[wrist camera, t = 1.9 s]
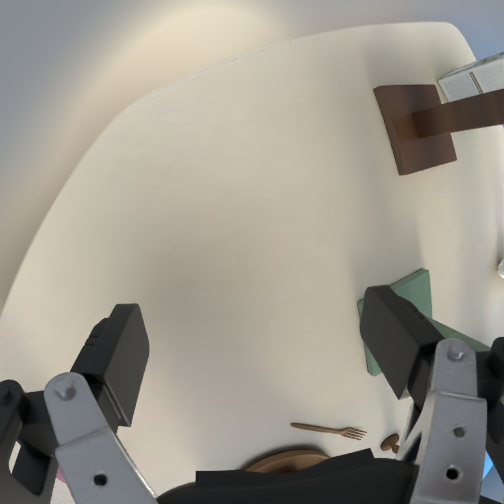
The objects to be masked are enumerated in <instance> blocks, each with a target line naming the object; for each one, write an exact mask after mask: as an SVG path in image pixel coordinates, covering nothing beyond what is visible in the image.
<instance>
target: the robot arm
mask: <svg viewBox="0 0 504 504" xmlns="http://www.w3.org/2000/svg"><path fill="white" fill-rule="evenodd" d="M360 333H361V337H362V339H363V341H364V343H365V344H366V346H367V347H368V349H369V351H370V352H371V354H372V356H373V357H374V359H375V361H376V362H377V364H378V366H379V367H380V369H381V371H382V372H383V374H384V376H385V378H386V379H387V381H388V383H389V384H390V386H391V388H392V390H393V391H394V393H395V395H396V397H397V398H398V400H403V399H406V398H409V397H412V399H413V400H414V401H413V403H412V405H411V408H410V412H409V415H408V419H407V423H406V427H405V430H404V434H403V437H402V440H401V444H400V447H399V449H398V452H397V454H396V456H395V458H394V459H389V458H374V456H373V454H372V451H371V449H370V448H368V449H364V450H361V451H357V452H353V453H349V454H345V455H340V456H336V457H331V458H329V459H326V460H324V461H322V462H320V463H317V464H315V465H312V466H310V467H308V468H305V469H303V470H300V471H297V472H295V473H292V474H287V475H282V474H271V473H261V472H253V471H245V470H227V471H196V482H191V483H187V484H184V485H181V486H178V487H175V488H173V489H171V490H169V491H167V492H165V493H163V494H161V495H160V496H159V497H158V495H157V494H156V493H155V491H154V490H153V489H152V488H151V486H150V485H149V484H148V482H147V481H146V480H145V478H144V477H143V475H142V474H141V472H140V471H139V469H138V468H137V467H136V465H135V464H134V462H133V460H132V459H131V457H130V456H129V454H128V453H127V451H126V449H125V448H124V446H123V445H122V443H121V441H120V440H119V438H118V436H117V435H116V433H117V429H118V426H126V427H131V423H132V419H133V414H134V410H135V406H136V402H137V398H138V394H139V390H140V387H141V383H142V379H143V375H144V372H145V368H146V364H147V361H148V357H149V340H148V336H147V333H146V329H145V325H144V321H143V318H142V314H141V310H140V307H139V305H138V304H137V303H135V304H117V305H116V306H115V308H114V309H113V311H112V313H111V315H110V317H109V318H104V319H103V320H101V321H100V322H99V323H98V324H97V325H95V326H94V328H93V330H92V331H91V333H90V335H89V338H88V339H87V340H86V342H85V346H83V348H82V349H81V351H80V353H79V355H78V357H77V359H76V361H75V363H74V365H73V366H72V368H71V370H70V372H67V373H62V374H59V375H57V376H55V377H54V378H52V379H51V380H50V381H49V382H48V384H47V385H46V387H45V389H44V391H36V392H28V393H25V392H24V390H23V389H22V387H21V385H20V384H19V383H18V382H17V381H14V380H5V381H2V382H0V504H50V501H51V496H52V492H53V487H54V483H55V479H56V474H57V470H58V466H60V469H61V471H62V474H63V476H64V479H65V481H66V483H67V486H68V488H69V490H70V492H71V495H72V497H73V499H74V501H75V503H76V504H504V499H503V500H502V502H501V503H500V502H497V501H494V500H492V499H489V498H486V497H484V496H481V495H480V491H481V485H482V478H483V470H484V461H485V449H486V451H487V453H488V455H489V456H490V458H491V460H492V462H493V464H494V465H495V468H496V469H497V472H498V474H499V476H500V477H501V480H502V482H503V484H504V404H503V403H502V402H501V399H502V397H503V395H504V337H499V338H497V339H495V340H494V342H493V344H492V346H491V349H490V351H477V352H475V351H474V350H473V348H472V347H471V346H470V345H469V344H468V343H466V342H464V341H462V340H459V339H455V338H447V339H445V338H444V336H443V335H442V334H441V333H440V332H439V331H438V330H437V329H436V328H435V327H434V325H433V324H432V323H431V322H430V321H429V320H428V319H427V318H426V319H425V316H424V315H423V314H422V313H421V312H419V310H418V309H417V307H416V306H415V305H414V304H413V303H412V302H410V301H408V300H406V299H405V298H403V297H401V296H398V295H397V294H396V293H395V292H394V291H393V290H392V289H391V288H390V287H389V286H388V285H380V286H372V287H368V288H367V289H366V291H365V296H364V302H363V308H362V314H361V320H360ZM16 441H17V442H18V443H19V444H20V445H21V448H20V450H19V453H18V456H17V459H16V462H15V465H14V468H13V471H12V474H11V472H10V470H9V459H10V456H11V453H12V450H13V448H14V445H15V442H16Z"/></svg>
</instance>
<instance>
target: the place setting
mask: <svg viewBox="0 0 504 504" xmlns="http://www.w3.org/2000/svg"><path fill="white" fill-rule="evenodd" d="M291 426H292V427H296V428H300V429H306V430H312V431H319V432H326V433H334V434H341V435H342V436H344V437H348V438H353V439H357V440H361V439H358V438H354V437H350V436H346V435H345V434H348V435H352V436H356V437H361V436H358V435H354V434H350V433H347V432H352V433H356V434H360V435H364V434H361V433H358V432H354V431H350V430H349V429H352V430H356V431H360V432H364V433H367V432H365V431H361V430H358V429H354V428H346V429H344V430H342V431H341V430H333V429H327V428H321V427H315V426H309V425H302V424H291ZM361 438H363V437H361ZM398 440H399V435H398V434H393V435H391V436H389V437H388V438H387V439H386V440H385V441H384V442H383V443H382V445H381V449H382V450H383V451H386V450H389V449H390V448H392V451H393V452H394V453H396V454H397V452H398V449H399V447H400V446H399V445H395V444H396V443H397V442H398ZM329 458H330V457H329V456H327V455H326V454H324V453H322V452H318V451H313V450H294V451H288V452H283V453H279V454H276V455H273V456H270V457H267V458H265V459H263V460H261V461H259V462H257V463H255V464H253V465H252V466H250V467H249V468H247V469H246V470H245V471H253V472H261V473H271V474H282V475H287V474H292V473H295V472H297V471H300V470H303V469H305V468H308V467H310V466H312V465H315V464H317V463H320V462H322V461H324V460H326V459H329Z"/></svg>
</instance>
